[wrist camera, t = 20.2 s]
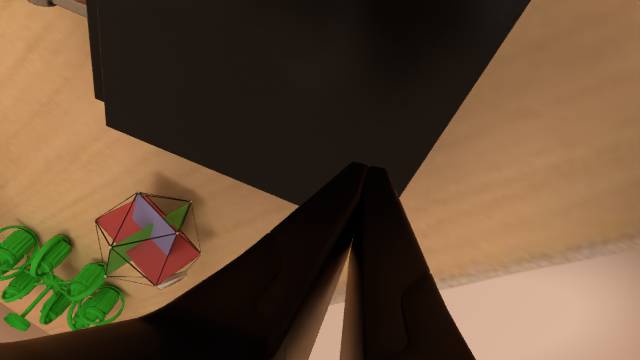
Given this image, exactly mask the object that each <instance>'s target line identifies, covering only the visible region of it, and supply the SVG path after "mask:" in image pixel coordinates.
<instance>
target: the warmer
mask: <svg viewBox="0 0 640 360" xmlns="http://www.w3.org/2000/svg"><path fill="white" fill-rule="evenodd" d="M530 1H531V0H97V12H98V25H99V38H100V51H101V64H102V78H103V91H104V104H105V117H106V126H108V127H110V128H112V129H115V130H117V131H120V132H122V133H125V134H127V135H129V136H132V137H134V138H137V139H139V140H141V141H144V142H146V143H149V144H151V145H153V146H156V147H158V148H161V149H163V150H165V151H168V152H170V153H173V154H175V155H178V156H180V157H182V158H185V159H187V160H190V161H192V162H194V163H197V164H199V165H202V166H204V167H206V168H209V169H211V170H214V171H216V172H218V173H221V174H223V175H226V176H228V177H231V178H233V179H235V180H238V181H240V182H243V183H245V184H247V185H250V186H252V187H255V188H257V189H259V190H262V191H264V192H267V193H269V194H271V195H274V196H276V197H279V198H281V199H283V200H286V201H288V202H291V203H293V204H296V205H298V206H300V205H302V204H303V203H304V202H305V201H306V200H308V199H309V198H310V197H311V196H312V195H313V194H315V193H316V192H317V191H318V190H319V189H320V188H322V187H323V186H324V185H325V184H326V183H328V182H329V181H330V180H331V179H332V178H333V177H335V176H336V175H337V174H338V173H339V172H341V171H342V170H343V169H344V168H345V167H346V166H348V165H349V164H350V163H351V162H358V163H363V164H367V165H368V166H369V167H370V166H376V167H381V168H385V169H386V170H387V171H388V173H389V176H390V178H391V180H392V183H393V185H394V187H395V190H396V192H397V194H398V197H400V196H401V194H402V193H403V191H404V190H405V188H406V187H407V185H408V184H409V182H410V181H411V179H412V178H413V176H414V175H415V173H416V172H417V170H418V169H419V167H420V166H421V164H422V163H423V161H424V160H425V158H426V157H427V155H428V154H429V152H430V151H431V149H432V148H433V146H434V145H435V143H436V142H437V140H438V139H439V137H440V136H441V134H442V133H443V131H444V130H445V128H446V127H447V125H448V124H449V122H450V121H451V119H452V118H453V116H454V115H455V113H456V112H457V110H458V109H459V107H460V106H461V104H462V103H463V101H464V100H465V98H466V97H467V95H468V94H469V92H470V91H471V89H472V88H473V86H474V85H475V83H476V82H477V80H478V79H479V77H480V76H481V74H482V73H483V71H484V70H485V68H486V67H487V65H488V64H489V62H490V61H491V59H492V58H493V56H494V55H495V53H496V52H497V50H498V49H499V47H500V46H501V44H502V43H503V42H504V40H505V39H506V37H507V36H508V34H509V33H510V31H511V30H512V28H513V27H514V25H515V24H516V22H517V21H518V19H519V18H520V16H521V15H522V13H523V12H524V10H525V9H526V7H527V6H528V4H529V3H530Z"/></svg>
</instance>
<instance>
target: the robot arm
mask: <svg viewBox="0 0 640 360" xmlns="http://www.w3.org/2000/svg"><path fill="white" fill-rule="evenodd" d="M352 239H353V240H352ZM351 243H352V245H351ZM350 247H351V250H350ZM349 251H350V257H349V266H348V276H347V287H346V298H345V308H344V319H343V330H342V340H341V351H340V360H476V359H475V357H474V356H473V354H472V352H471V350H470V349H469V347H468V345H467V343H466V342H465V340H464V338H463V337H462V335H461V333H460V331H459V329H458V328H457V326H456V324H455V322H454V320H453V318H452V317H451V315H450V313H449V311H448V309H447V307H446V305H445V303H444V301H443V299H442V296H441V295H440V292H439V290H438V288H437V286H436V283H435V281H434V278H433V276H432V274H431V273H430V269H429V267H428V265H427V262H426V260H425V258H424V255H423V253H422V251H421V248H420V246H419V244H418V241H417V239H416V237H415V234H414V232H413V230H412V227H411V225H410V223H409V220H408V218H407V215H406V213H405V211H404V208H403V206H402V204H401V201H400V199H399V197H398V194H397V192H396V190H395V187H394V185H393V183H392V180H391V178H390V176H389V173H388V171H387V170H386V169H385V168H381V167H376V166H370V167H369V166H368V165H367V164H363V163H358V162H351V163H350V164H349V165H348V166H346V167H345V168H344V169H343V170H342V171H341V172H339V173H338V174H337V175H336V176H335V177H333V178H332V179H331V180H330V181H329V182H328V183H326V184H325V185H324V186H323V187H322V188H320V189H319V190H318V191H317V192H316V193H315V194H313V195H312V196H311V197H310V198H309V199H308V200H306V201H305V202H304V203H303V204H302V205H300V206H299V207H298V208H297V209H296V210H295V211H293V212H292V213H291V214H290V215H289V216H287V217H286V218H285V219H284V220H283V221H282V222H280V223H279V224H278V225H277V226H276V227H274V228H273V229H272V230H271V231H270V233H267V234H266V235H265V236H264V237H262V238H261V239H260V240H259V241H258V242H257V243H255V244H254V245H253V246H252V247H250V248H249V249H248V250H246V251H245V252H244V253H243V254H241V255H240V256H239V257H237V258H236V259H234V260H233V261H231V262H230V263H229V264H227V265H226V266H224V267H223V268H221V269H220V270H218V271H217V272H215V273H214V274H212V275H211V276H209V277H208V278H206V279H205V280H203V281H202V282H200V283H199V284H197V285H196V286H194V287H192V288H191V289H189V290H188V291H186V292H185V293H183V294H182V295H180V296H179V297H177V298H176V299H174V300H173V301H171V302H170V303H168V304H166V305H165V306H163V307H161V308H159V309H157V310H155V311H153V312H151V313H148V314H146V315H144V316H141V317H138V318H134V319H130V320H124V321H119V322H114V323H109V324H104V325H99V326H94V327H89V328H84V329H79V330H74V331H69V332H64V333H59V334H54V335H49V336H44V337H39V338H33V339H28V340H22V341H16V342H7V343H0V360H308V359H309V356H310V354H311V351H312V348H313V346H314V343H315V340H316V338H317V335H318V333H319V330H320V327H321V325H322V322H323V320H324V317H325V314H326V312H327V309H328V307H329V304H330V301H331V299H332V296H333V294H334V291H335V288H336V286H337V283H338V280H339V278H340V275H341V273H342V270H343V267H344V265H345V262H346V260H347V257H348V254H349Z"/></svg>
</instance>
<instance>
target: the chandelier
mask: <svg viewBox="0 0 640 360" xmlns="http://www.w3.org/2000/svg"><path fill="white" fill-rule="evenodd" d="M9 228H18V229H22V230H24V231H22V230H17V231H14V232H13V233H12V234H11V235H10V236H9V237H7V238H6V239H5V240H4V241H3V242H2V243H0V276H2V275H4V274H5V273H7V272H9V271H10V270H18V269H20V270H18V271H17V272H15V273H13V274H11V275H8V276H3V277H0V281H2V280H8V279H11V278H14V277H15V278H14V279H13V280H12V281H11V282H10V283H9V285H8V286H7V287H6V289H5V290H4V291H3V293H2V295H1V299H2V300H4V301H5V302H13V301H15V300H17V299H22V298H23V297H24V296H26V295H27V294H29V293H30V292H31V291H32V290H33V289H34V288H35V287H36V285H46V286H47V288H46V289H45V290H44V291H43V292H42V293H41V294H40V295H39V296H38V297H37V299H36V300H35V301H34V302H33V303H32V304H31V305H30V306H29V307H28V308H27V309H26V310H25V311H24V313H23V314H22V315H21V316H19V315H17V314H14V313H9V314H8V315H7V316H6V317H5V318H4V320H5V321H6V322H7V323H8V324H9V325H10V326H12V327H14V328H16V329H18V330H22V331H26V330H27V329H28V328H29V327H30V323H29V322H28V321H27V320H26V319H25V318H24V317H25V316H26V315H27V314H28V313H29V312H30V311H31V310H32V309H33V308H34V306H35V305H36V304H37V303H38V302H39V301H40V300H41V299H42V298H43V297H44V296H45V294H46V293H47V292H48V291H49V290H50V289H52V290H53V295H52V296H51V297H50V298H49V299H48V300H47V301H46V302H45V303H44V305H43V308H42V309H41V310H40V312H41V313H42V314H41V316H40V323H42V324H45V325H47V324H49V323H51V322H52V321H53V320H55V319H56V318H57V317H59V316H60V315H62V313H63V312H64V311H65V310H66V309H67V307H68V306H69V305H70V304H71V303H72V302H73V303H72V305H71V306H70V308H69V311H68V316H67V320H68V325H69V327H70V328H71V330H72V331H74V330H79V329H82V328H88V327H89V325H96V326H99V325H104V324H108V323H110V322H112V321H114V320H115V319H116V318H117V317H118V316H119V315H120V314H121V312H122V310H123V308H124V296H123V294H122V293H121V291H120V290H119V289H117V288H115V287H113V286H109V285H102V283H103V282H104V281H105V280H106V278H107V277H104V276H105V274H106V269H107V265H106V264H104V263H97V264H94V263H90V264H88V265H86V266H85V267H84V268H83V269H82V271H81V272H80V273H79V274H78V275H77V276H76V277H75V278H74V279H73V280H72V281H63V280H62V279H60V278H59V277H57V276H55V275H54V272H53V269H54V268H56V267H57V266H58V265H59V264H60V263H61V262H62V261H63V260H64V259H65V258H66V257H67V255H68V254H69V253H70V247H69V245H68V238H67V237H65V236H62V235H57V236H55V237H53V238H52V239H50V240H49V241H48V242H47V243H46V244H45V245H44V246H43V247H42V248H41V249H39V243H38V239H37V237H36V235H35V234H34V233H33V232H32V231H31V230H30V229H28V228H26V227H23V226H9V227H5V228H2V229H0V233H1V232H2V231H4V230H6V229H9ZM25 231H26V232H25ZM61 239H63V241H62V240H61ZM61 245H62V246H61ZM33 246H34V251H33V254H32V256H31V258H30V257H29V252H28V251H29V250H30V249H31V248H32V247H33ZM60 246H61V247H60ZM59 247H60V248H59ZM38 249H39V250H38ZM25 253H26V254H27V260H26V263H25V264H23V265H21V266H19V267H16V268H13V267H14V266H15V265H16V264H17V263H18V262H20V261H21V260H22V259H23V258H24V254H25ZM29 264H30V265H31V267H30V269H26V268H27V266H28V265H29ZM103 264H104V266H103ZM102 267H105V272H104V269H103V268H102ZM49 272H51V274H48V273H49ZM107 276H108V275H107ZM44 277H45V278H44ZM41 279H42V280H43V282H42V283H39V282H40V281H41ZM67 283H70V284H69V285H68V287H65V286H66V284H67ZM98 289H100V290H99V291H98V293H97V294H91V293H93V292H94V291H95V290H98ZM116 292H117V293H118V294H119V295H120V297H121V299H122V307H121V309H120V311H119V312H118V313H117V314H116V315H115V316H114V317H113V318H111V319H109V320H106V321H104V320H105V317H106V315H107V314H108V313H109V312H110V311H111V309H112V308H113V307H114V305H115V304H116V302H117V301H118V299H119V295H118V294H117V293H116ZM108 295H109V296H108ZM87 296H94V298H92V297H90V298H88V299H87V300H85V302H84V303H83V304H82V305H81V303H82V301H83V299H84V298H85V297H87ZM78 302H79V304H78V310H77V312H76V313H75V316H74V318H73V319H72V313H73V310H74V307H75V306H76V304H77V303H78ZM80 306H81V307H80ZM96 319H98V320H100V321H99V322H95V321H96ZM72 320H73V322H74V324H73V322H72Z"/></svg>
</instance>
